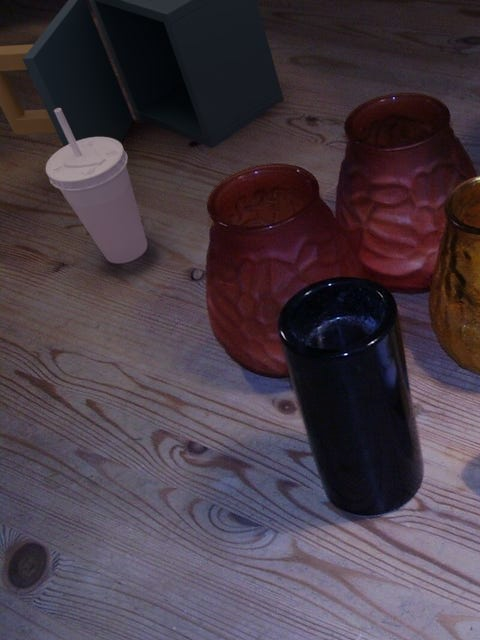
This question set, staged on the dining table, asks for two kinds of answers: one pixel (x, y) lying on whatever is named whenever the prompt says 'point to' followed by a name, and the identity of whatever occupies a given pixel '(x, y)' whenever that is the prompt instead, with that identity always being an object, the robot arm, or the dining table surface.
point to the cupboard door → (67, 80)
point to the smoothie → (99, 192)
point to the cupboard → (191, 63)
